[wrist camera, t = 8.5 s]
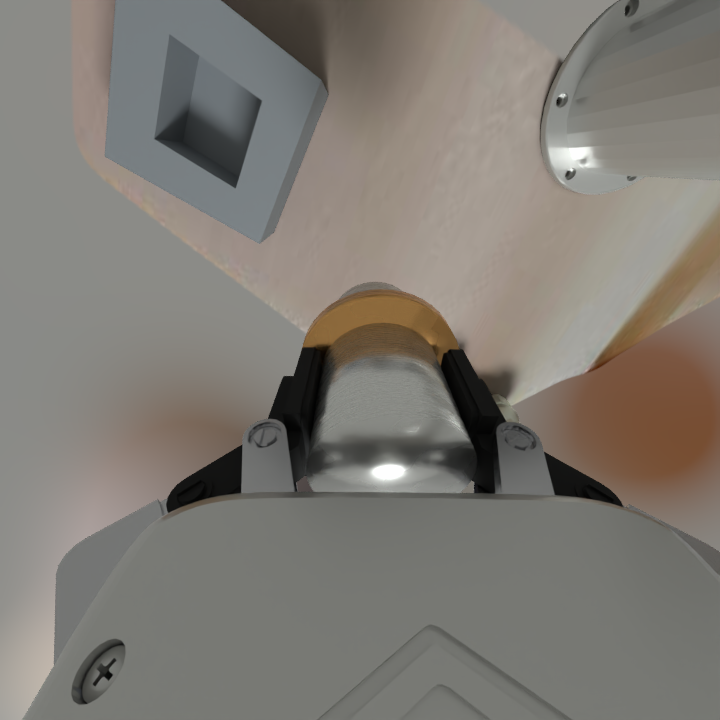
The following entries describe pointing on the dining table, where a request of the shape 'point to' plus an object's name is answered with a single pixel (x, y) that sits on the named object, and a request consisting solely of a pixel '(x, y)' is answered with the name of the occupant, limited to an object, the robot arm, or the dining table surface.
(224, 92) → the housing
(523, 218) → the dining table surface
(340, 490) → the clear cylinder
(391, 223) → the dining table surface
